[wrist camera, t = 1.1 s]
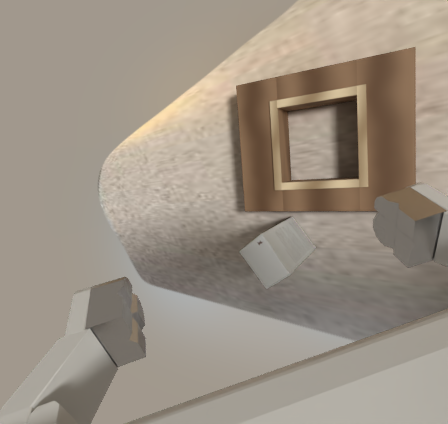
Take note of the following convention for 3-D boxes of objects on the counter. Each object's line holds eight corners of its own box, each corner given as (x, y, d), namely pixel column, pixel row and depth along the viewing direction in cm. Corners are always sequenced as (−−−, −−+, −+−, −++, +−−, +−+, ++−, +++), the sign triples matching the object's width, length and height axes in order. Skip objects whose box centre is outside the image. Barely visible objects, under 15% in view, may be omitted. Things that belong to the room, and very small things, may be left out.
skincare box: (272, 230, 52) (237, 250, 42) (292, 215, 50) (261, 231, 40) (295, 263, 51) (265, 291, 41) (317, 248, 49) (291, 274, 39)
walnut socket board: (415, 56, 39) (415, 46, 36) (415, 206, 42) (415, 211, 38) (248, 90, 50) (235, 85, 47) (256, 207, 53) (244, 211, 49)
